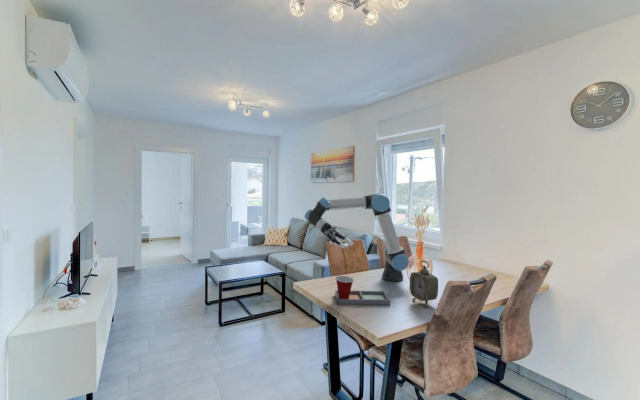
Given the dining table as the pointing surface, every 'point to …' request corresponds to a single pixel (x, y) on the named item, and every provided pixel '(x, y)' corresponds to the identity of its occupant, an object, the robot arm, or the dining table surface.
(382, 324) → the dining table surface
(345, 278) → the plastic cup
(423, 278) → the tabletop clock
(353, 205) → the robot arm
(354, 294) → the organiser tray
